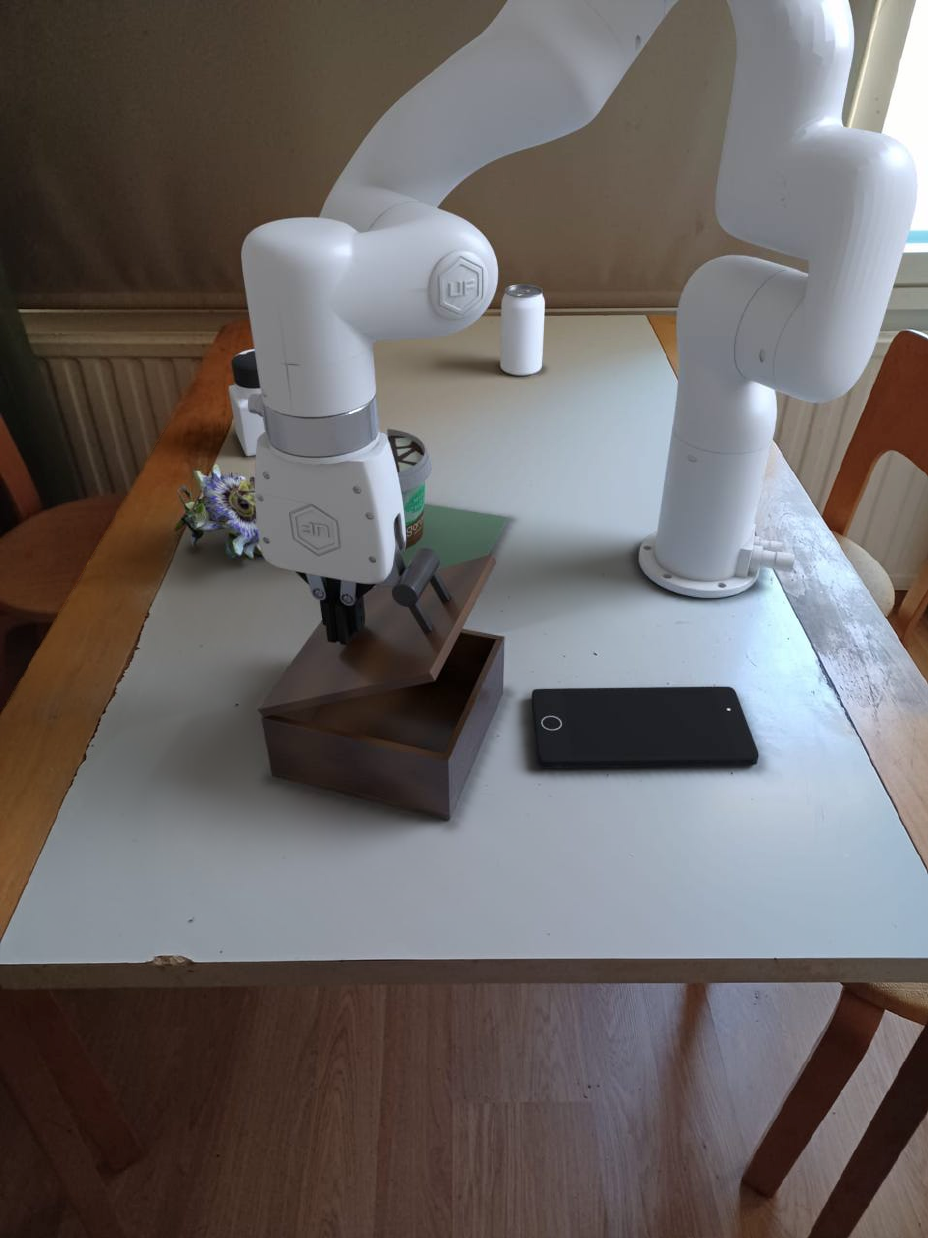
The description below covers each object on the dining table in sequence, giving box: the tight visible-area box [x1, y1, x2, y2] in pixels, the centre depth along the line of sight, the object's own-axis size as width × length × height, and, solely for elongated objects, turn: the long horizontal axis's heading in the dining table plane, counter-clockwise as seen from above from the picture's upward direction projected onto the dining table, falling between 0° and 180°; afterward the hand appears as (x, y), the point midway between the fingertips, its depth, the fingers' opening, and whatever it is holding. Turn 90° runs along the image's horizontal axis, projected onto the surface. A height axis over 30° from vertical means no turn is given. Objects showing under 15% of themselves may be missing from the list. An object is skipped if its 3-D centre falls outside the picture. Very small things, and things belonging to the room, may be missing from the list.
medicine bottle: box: [228, 348, 266, 457], centre depth 118 cm, size 7×7×12 cm
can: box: [499, 283, 546, 377], centre depth 137 cm, size 6×6×12 cm
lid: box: [256, 548, 497, 717], centre depth 70 cm, size 16×15×5 cm
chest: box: [260, 628, 506, 821], centre depth 75 cm, size 15×15×7 cm
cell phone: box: [531, 686, 760, 769], centre depth 77 cm, size 9×18×1 cm, turn 91°
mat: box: [372, 503, 508, 569], centre depth 102 cm, size 20×14×1 cm
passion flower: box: [174, 464, 263, 562], centre depth 98 cm, size 11×11×12 cm
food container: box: [386, 428, 433, 549], centre depth 99 cm, size 12×6×10 cm, turn 168°
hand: (345, 633), depth 72 cm, fingers closed
